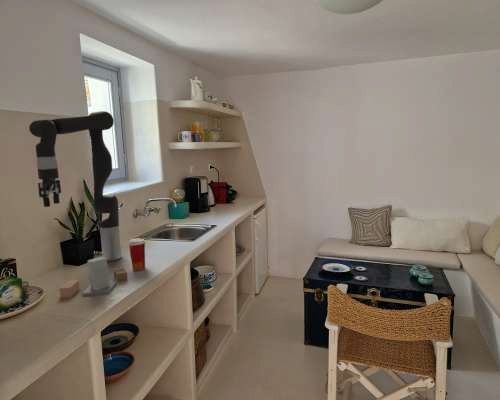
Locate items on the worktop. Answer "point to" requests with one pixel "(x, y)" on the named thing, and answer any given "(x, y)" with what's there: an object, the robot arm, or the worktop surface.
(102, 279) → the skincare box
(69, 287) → the terracotta brick
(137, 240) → the paper cup
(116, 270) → the walnut brick
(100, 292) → the slate slab
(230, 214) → the worktop surface
